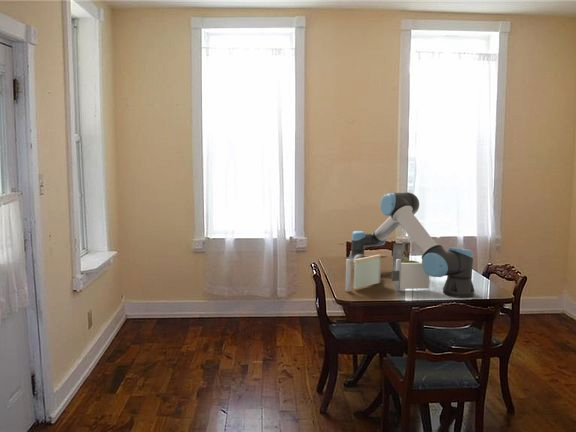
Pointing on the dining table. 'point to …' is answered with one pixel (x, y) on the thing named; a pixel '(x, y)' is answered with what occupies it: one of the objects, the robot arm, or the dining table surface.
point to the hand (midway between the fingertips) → (372, 271)
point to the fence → (400, 276)
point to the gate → (367, 271)
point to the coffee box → (400, 252)
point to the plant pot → (409, 261)
